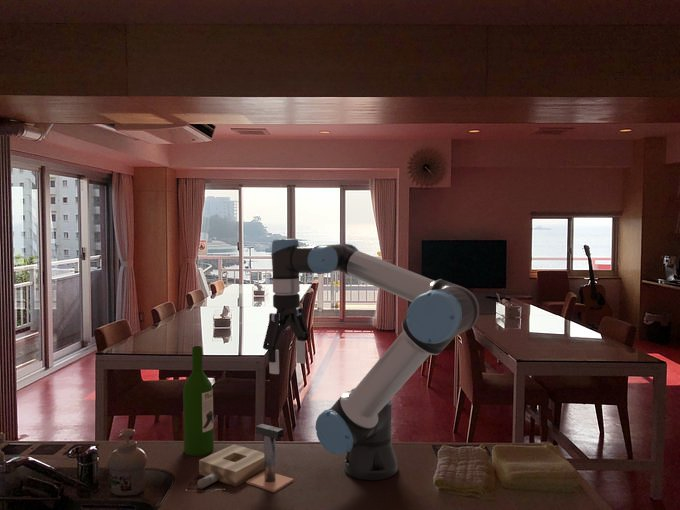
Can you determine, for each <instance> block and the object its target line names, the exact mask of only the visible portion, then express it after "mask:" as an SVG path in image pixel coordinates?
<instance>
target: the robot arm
mask: <svg viewBox="0 0 680 510" xmlns="http://www.w3.org/2000/svg"><path fill="white" fill-rule="evenodd" d="M271 265H272V266H271V267H272V292H273V295H272V307H273V308H274V309H276V312H275V313H272V312H270V313H269V317H268V319H269V320H268V326H267V329H266V332H265V333H266V334H265V336H264V337H265V338H264V341H263V345H262V348H263V349H264V350H265V351H267V352H268V362H269V363H268V364H269V366H268V367H269V374H270V375H271V374H272V375H279V374H280V352H279V351H280V350H279V349H278V347H279V344H280V341H281V339H282V337H283V334H284V332H285V330H287V328H289V327H290V328H291V330H292V332H293V334H294V335H295V337H296V339H297V340H295V356H296V357H295V361H296V364H306V341H307V342H308V341H309V337H310V330H309V328H308V325H307V322H306V318H305V316H304V309H303V307H300V304H301V299H300V298H301V297H300V293H299V292H301V291H300V289H301V288H300V274H302V273H303V274H317V275H324V274H331V273H333V272H340V273H342V274H346V275H348V276H350V277H353V278H355V279H358V280H360V281H362V282H364V283H367V284H369V285H371V286H373V287H377V288H378V289H380V290H382V291H385V292H387V293H390V294H392V295H395V296H397V297H399V298H402V299H403V300H405V301H406V300H407V301H409V302H411V303H410V304H409V306H408V308H407V311H406V317H405V318H404V319H403V320H402V322H401V328H402V332H400V334H399V335H398V336H397V337H396V339H395V340H394V341H393V342H392V344H390V346H389V347H388V348H387V350H386V351H385V352H384V353H383V354H382V356H381V357H379V359H378V360H377V361H376V363H375V364H374V365H373V366H372V367H371V369H370V370H369V371H368V372H367V373H366V375H365V376H364V377H363V379H361V380H360V382H359V383H358V384H357V386H355V388H352V389H351V390H349V391H348V390H347V391H344V393H342V395H341V396H340V397H339V398H338V399H337V400H336V401H335V403H334V404H333V405H332V406H331V407H330V408H328V409H326V410H324V411H322V412H321V413H320V414H319V415H318V416H317V418H316V421H315V427H314V428H315V431H316V437H317V440H318V441H319V443H320V445H321V446H322V447H323V448H324V449H325V450H326V451H327V452H328V453H330V454H334V455H337V456H339V455H344V454H346V455H345V458H344V471H345V473H346V474H347V475H348V476H350V477H352V478H354V479H357V480H363V481H381V480H386V479H389V478H392V477H393V476H395V475H396V474H397V472H398V460H397V456H396V454H395V451H394V447H393V445H392V406H393V403H392V399H393V397H394V396H395V395H396V394H397V393H398V392H399V391H400V389H401V388H402V387H403V386H404V385H405V384H406V382H408V380H409V379H410V378H411V377H412V375H414V373H416V371H417V370H418V369H419V368H420V367H421V365H422V364H423V363H424V362H425V361H426V360H427V359H428V358H429V357H430V355H431V356H437V355H440V354H441V353H442V352H443V351H444V349H445V348H446V347H447V346H448V345H449V344H450V343H451V341H452V340H454V338H455V337H456V336H458V335H460V334H463V333H465V332H467V331H468V330H471V329H472V327H474V325H475V324H476V322H477V320H478V319H479V315H480V306H479V305H480V304H479V302H478V300H477V298H476V296H475V295H474V293H473V292H471V290H469V289H467V288H465V287H464V286H461V285H459V284H456V283H453V282H450V281H448V280H445V279H442V278H439V279H437V280H434V279H431V278H428V277H426V276H424V275H421V274H419V273H416V272H414V271H411V270H408V269H406V268H403V267H400V266H398V265H395V264H393V263H392V262H391V263H390V262H388V261H386V260H383V259H381V258H378V257H376V256H373V255H370V254H368V253H366V252H363V251H360V250H359V249H358V247H356V246H355V245H353V244H348V243H339V244H338V243H337V244H326V245H325V244H322V245H320V244H319V245H299V240H298V239H297V238H278V239H274V240H273V241H272V244H271Z"/></svg>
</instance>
